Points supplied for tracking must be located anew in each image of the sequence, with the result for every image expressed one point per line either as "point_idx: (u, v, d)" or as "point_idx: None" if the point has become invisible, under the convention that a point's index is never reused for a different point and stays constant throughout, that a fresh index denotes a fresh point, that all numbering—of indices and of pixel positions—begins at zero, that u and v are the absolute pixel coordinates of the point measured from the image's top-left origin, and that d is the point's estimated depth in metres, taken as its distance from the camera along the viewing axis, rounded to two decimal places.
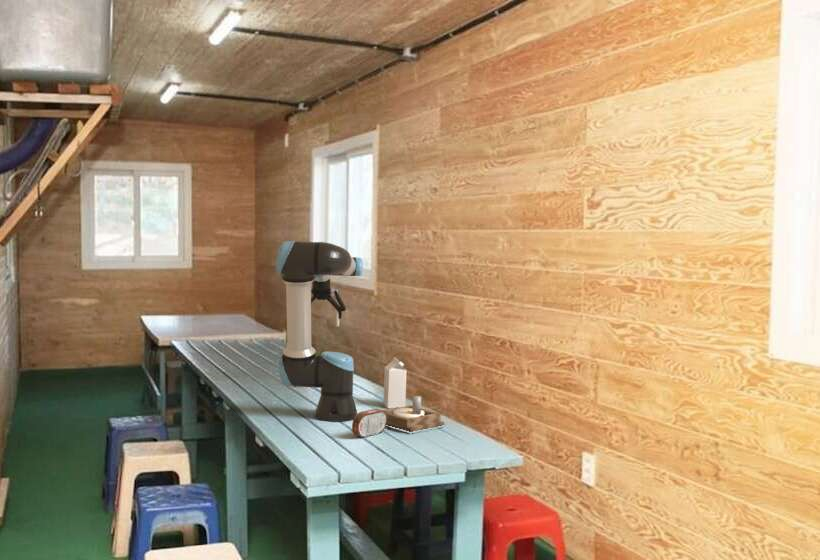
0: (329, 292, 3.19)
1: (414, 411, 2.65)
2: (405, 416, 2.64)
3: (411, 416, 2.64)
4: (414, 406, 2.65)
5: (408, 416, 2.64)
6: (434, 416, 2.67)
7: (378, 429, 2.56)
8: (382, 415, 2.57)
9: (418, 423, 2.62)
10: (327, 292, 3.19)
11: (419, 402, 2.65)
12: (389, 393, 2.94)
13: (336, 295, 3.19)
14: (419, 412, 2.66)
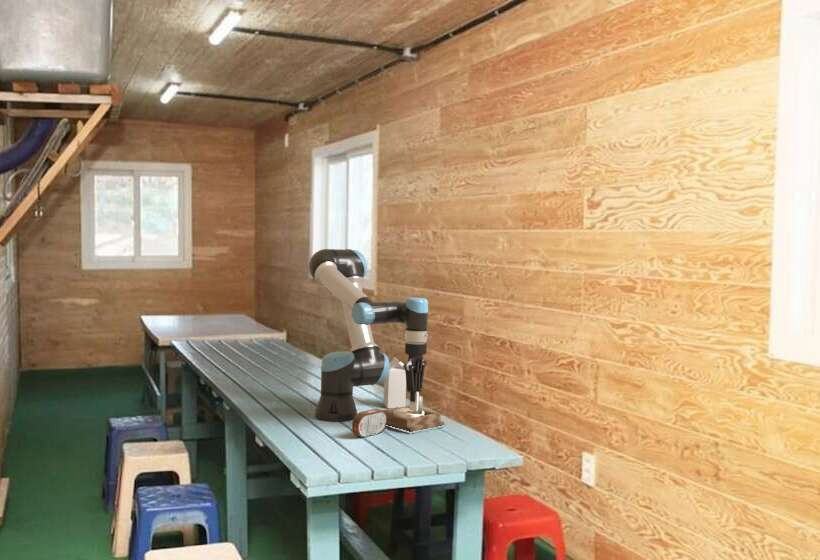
0: None
1: (416, 411, 2.66)
2: (408, 416, 2.64)
3: (413, 416, 2.65)
4: None
5: (411, 416, 2.64)
6: (434, 416, 2.67)
7: (378, 429, 2.56)
8: (382, 415, 2.57)
9: (418, 423, 2.62)
10: None
11: (421, 402, 2.66)
12: (389, 393, 2.94)
13: None
14: (421, 412, 2.66)
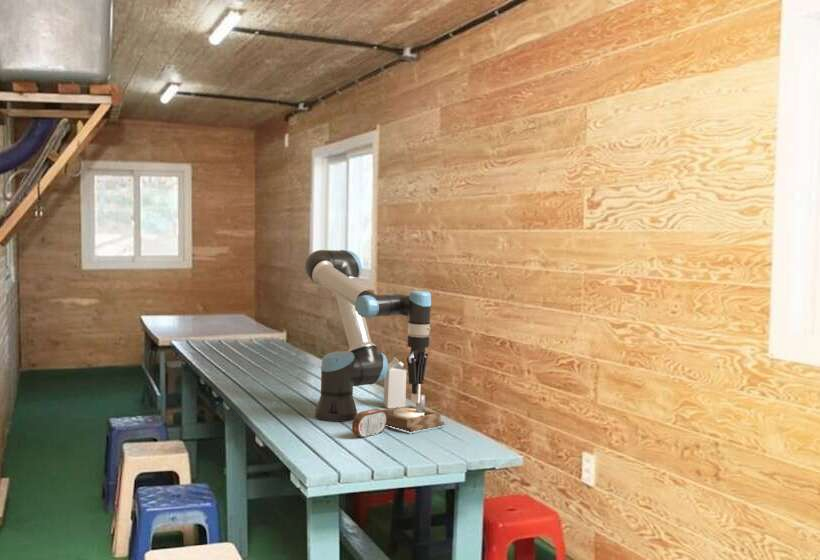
0: None
1: (421, 410, 2.68)
2: (417, 416, 2.65)
3: None
4: (421, 405, 2.68)
5: (419, 415, 2.66)
6: (434, 416, 2.67)
7: (378, 429, 2.56)
8: (382, 415, 2.57)
9: (418, 423, 2.62)
10: None
11: (424, 400, 2.69)
12: (389, 393, 2.94)
13: None
14: None
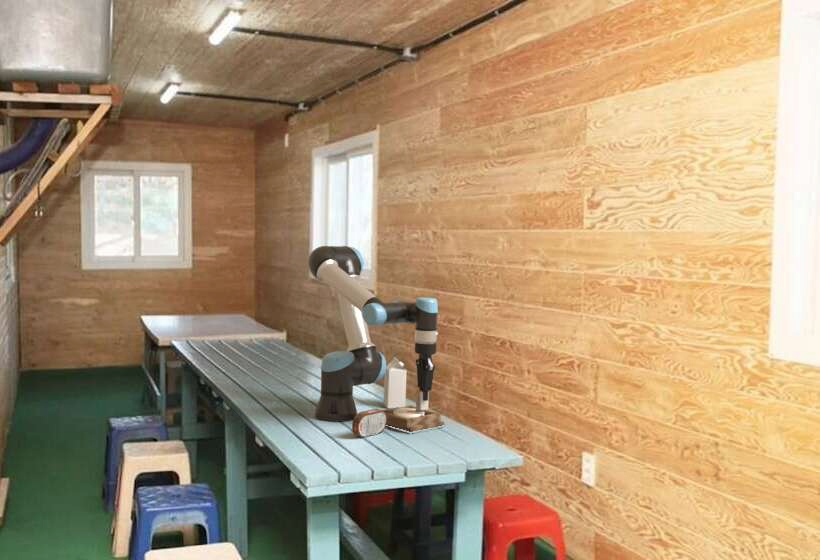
0: (425, 361, 2.62)
1: None
2: None
3: (422, 414, 2.67)
4: None
5: None
6: (434, 416, 2.67)
7: (378, 429, 2.56)
8: (382, 415, 2.57)
9: (418, 423, 2.62)
10: (425, 359, 2.63)
11: None
12: (389, 393, 2.94)
13: (426, 369, 2.61)
14: None
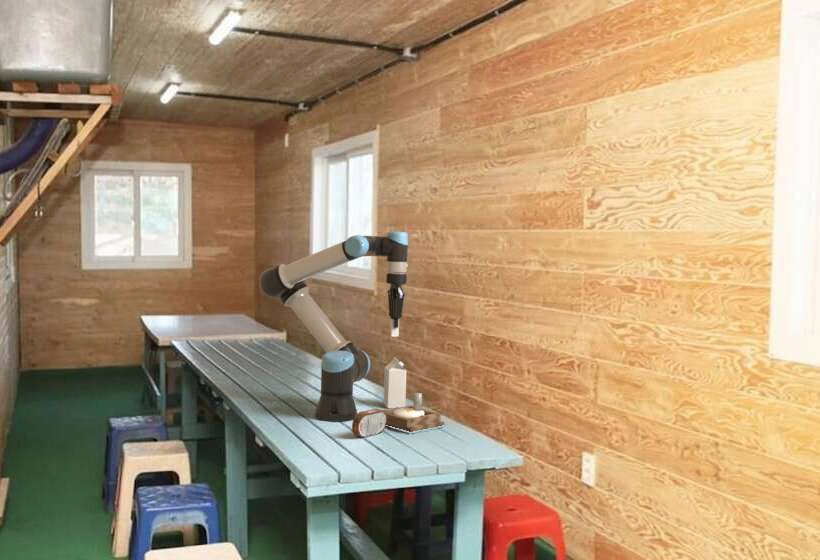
0: (396, 290, 2.80)
1: (420, 407, 2.71)
2: (423, 414, 2.68)
3: None
4: (421, 403, 2.71)
5: None
6: (434, 416, 2.67)
7: (378, 429, 2.56)
8: (382, 415, 2.57)
9: (418, 423, 2.62)
10: (395, 288, 2.80)
11: None
12: (389, 393, 2.94)
13: (397, 297, 2.78)
14: None
